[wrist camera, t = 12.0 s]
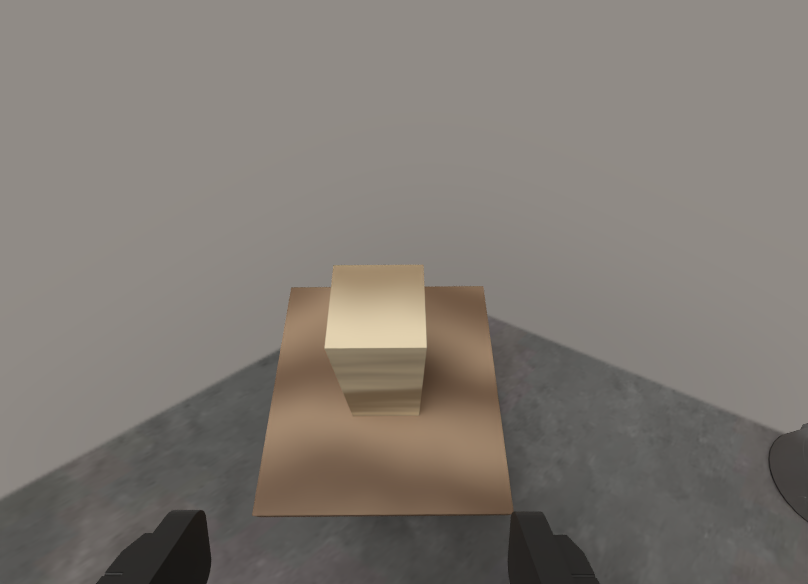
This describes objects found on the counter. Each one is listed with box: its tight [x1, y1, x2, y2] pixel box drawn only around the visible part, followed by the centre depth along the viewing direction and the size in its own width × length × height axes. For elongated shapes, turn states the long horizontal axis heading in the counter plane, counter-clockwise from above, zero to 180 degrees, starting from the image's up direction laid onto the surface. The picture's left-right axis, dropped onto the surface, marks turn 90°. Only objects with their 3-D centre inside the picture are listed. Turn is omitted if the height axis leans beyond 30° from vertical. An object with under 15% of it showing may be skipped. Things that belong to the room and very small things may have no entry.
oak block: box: [325, 265, 427, 416], centre depth 21 cm, size 4×4×10 cm
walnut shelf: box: [252, 286, 513, 517], centre depth 32 cm, size 14×14×18 cm
